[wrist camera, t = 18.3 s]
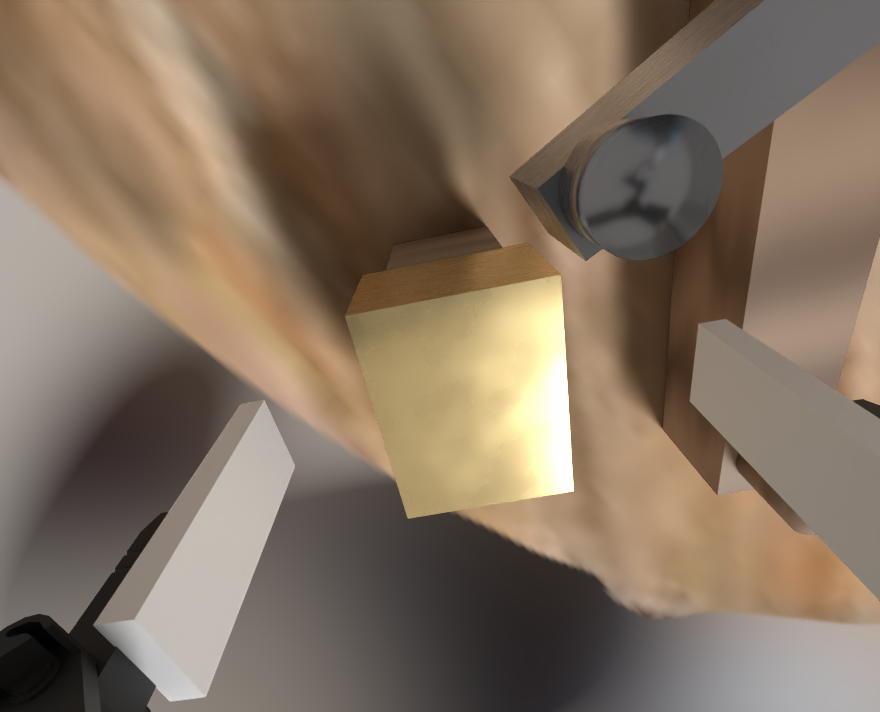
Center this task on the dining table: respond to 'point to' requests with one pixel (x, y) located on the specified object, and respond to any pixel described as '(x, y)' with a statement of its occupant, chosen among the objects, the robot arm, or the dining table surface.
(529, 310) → the gold metallic block
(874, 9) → the lever
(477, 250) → the block
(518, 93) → the dining table surface
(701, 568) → the dining table surface
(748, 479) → the body
